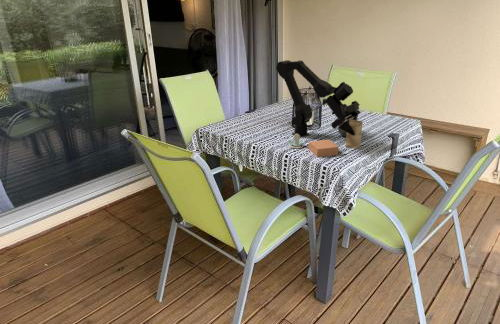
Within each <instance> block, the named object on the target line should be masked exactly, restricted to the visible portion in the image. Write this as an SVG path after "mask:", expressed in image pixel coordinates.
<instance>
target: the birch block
mask: <svg viewBox="0 0 500 324" xmlns="http://www.w3.org/2000/svg"><path fill="white" fill-rule="evenodd" d="M349 124H350V126H351V128H352V129H353V131H354V133H355V135H354V136H353V135H351V134H349V133H347V136H345V138H346V139H345V147H346V148H350V149H354V150H355V149H356V150H357V149H358V148H359V147H361V146H362V145H361V143H362V142H361V141H362V131H363V120H358V119H357V120H351V121H349Z"/></svg>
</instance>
